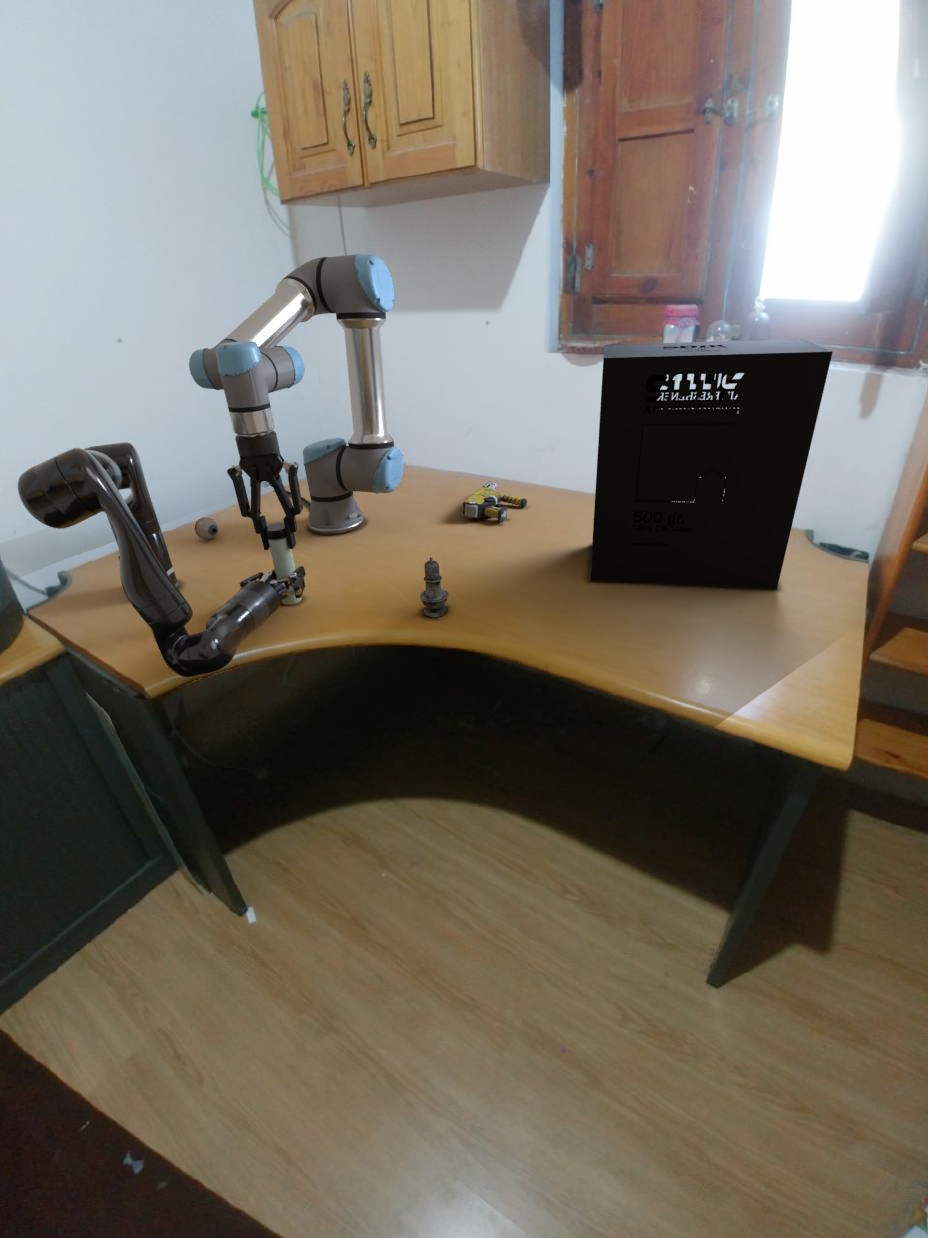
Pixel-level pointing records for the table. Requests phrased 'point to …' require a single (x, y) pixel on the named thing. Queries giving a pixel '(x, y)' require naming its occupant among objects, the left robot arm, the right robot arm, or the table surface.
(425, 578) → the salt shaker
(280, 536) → the lid
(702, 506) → the cardboard box
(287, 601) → the bottle
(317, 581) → the table surface
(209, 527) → the eyeball
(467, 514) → the toy gun
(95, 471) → the left robot arm
